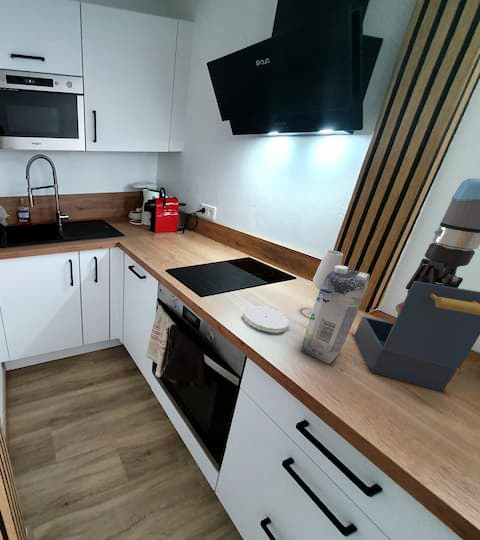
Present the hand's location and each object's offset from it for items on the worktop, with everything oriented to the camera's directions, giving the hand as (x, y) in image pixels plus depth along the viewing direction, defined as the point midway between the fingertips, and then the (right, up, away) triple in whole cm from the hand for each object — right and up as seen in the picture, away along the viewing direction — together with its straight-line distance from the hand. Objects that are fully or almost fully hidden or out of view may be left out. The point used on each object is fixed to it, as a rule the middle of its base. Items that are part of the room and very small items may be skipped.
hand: (411, 324), depth 77 cm
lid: (-4, +2, -9) cm, 10 cm away
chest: (0, -11, +5) cm, 12 cm away
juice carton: (-20, -10, +7) cm, 23 cm away
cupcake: (0, -1, 0) cm, 1 cm away
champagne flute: (-9, -1, +27) cm, 28 cm away
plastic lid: (-30, -4, +21) cm, 36 cm away
